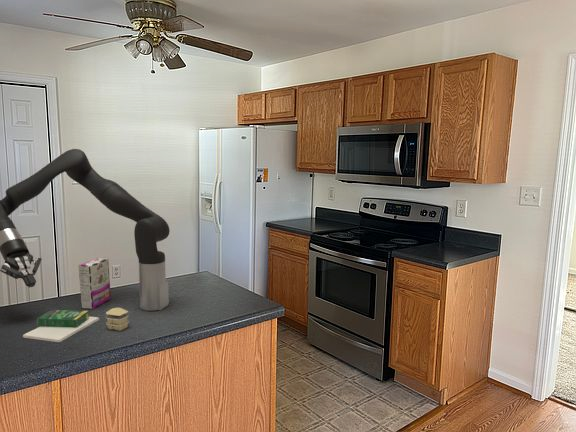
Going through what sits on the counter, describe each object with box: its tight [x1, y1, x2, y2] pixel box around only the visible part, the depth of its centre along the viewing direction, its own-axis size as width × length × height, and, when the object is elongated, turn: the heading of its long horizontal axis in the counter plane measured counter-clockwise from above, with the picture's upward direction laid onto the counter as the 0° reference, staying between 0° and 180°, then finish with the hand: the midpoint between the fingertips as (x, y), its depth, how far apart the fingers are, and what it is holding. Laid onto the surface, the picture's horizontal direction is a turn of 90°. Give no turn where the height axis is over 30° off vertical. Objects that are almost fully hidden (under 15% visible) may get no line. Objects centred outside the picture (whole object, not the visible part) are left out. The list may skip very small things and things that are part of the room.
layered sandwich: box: [105, 307, 130, 332], centre depth 138 cm, size 10×9×6 cm
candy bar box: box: [78, 257, 112, 310], centre depth 157 cm, size 11×5×16 cm, turn 168°
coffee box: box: [36, 309, 90, 327], centre depth 139 cm, size 8×3×13 cm
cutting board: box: [22, 315, 100, 343], centre depth 136 cm, size 13×18×1 cm
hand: (32, 285), depth 139 cm, fingers closed
